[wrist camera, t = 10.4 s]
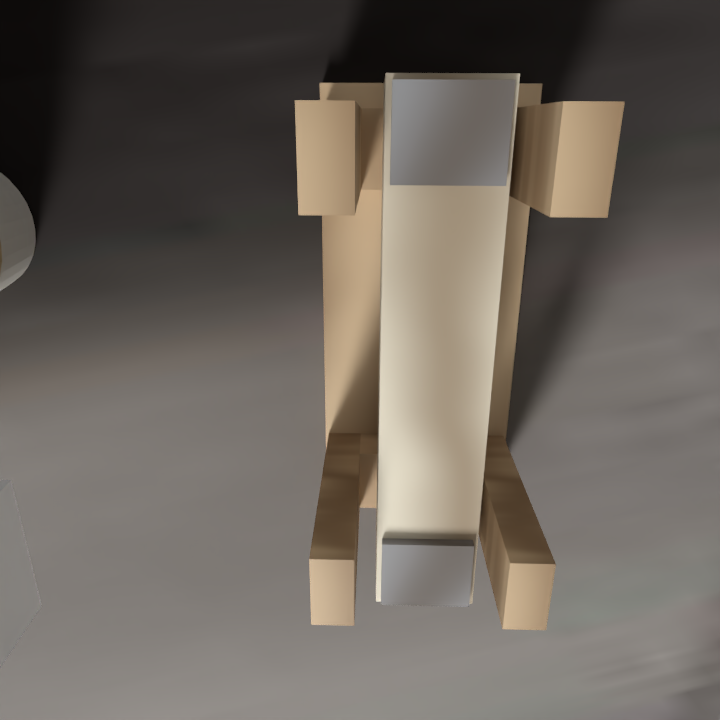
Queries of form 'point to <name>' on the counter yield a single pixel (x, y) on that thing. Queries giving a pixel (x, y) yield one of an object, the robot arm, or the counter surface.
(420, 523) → the rail
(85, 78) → the counter surface
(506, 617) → the wooden stand
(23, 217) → the coffee cup
